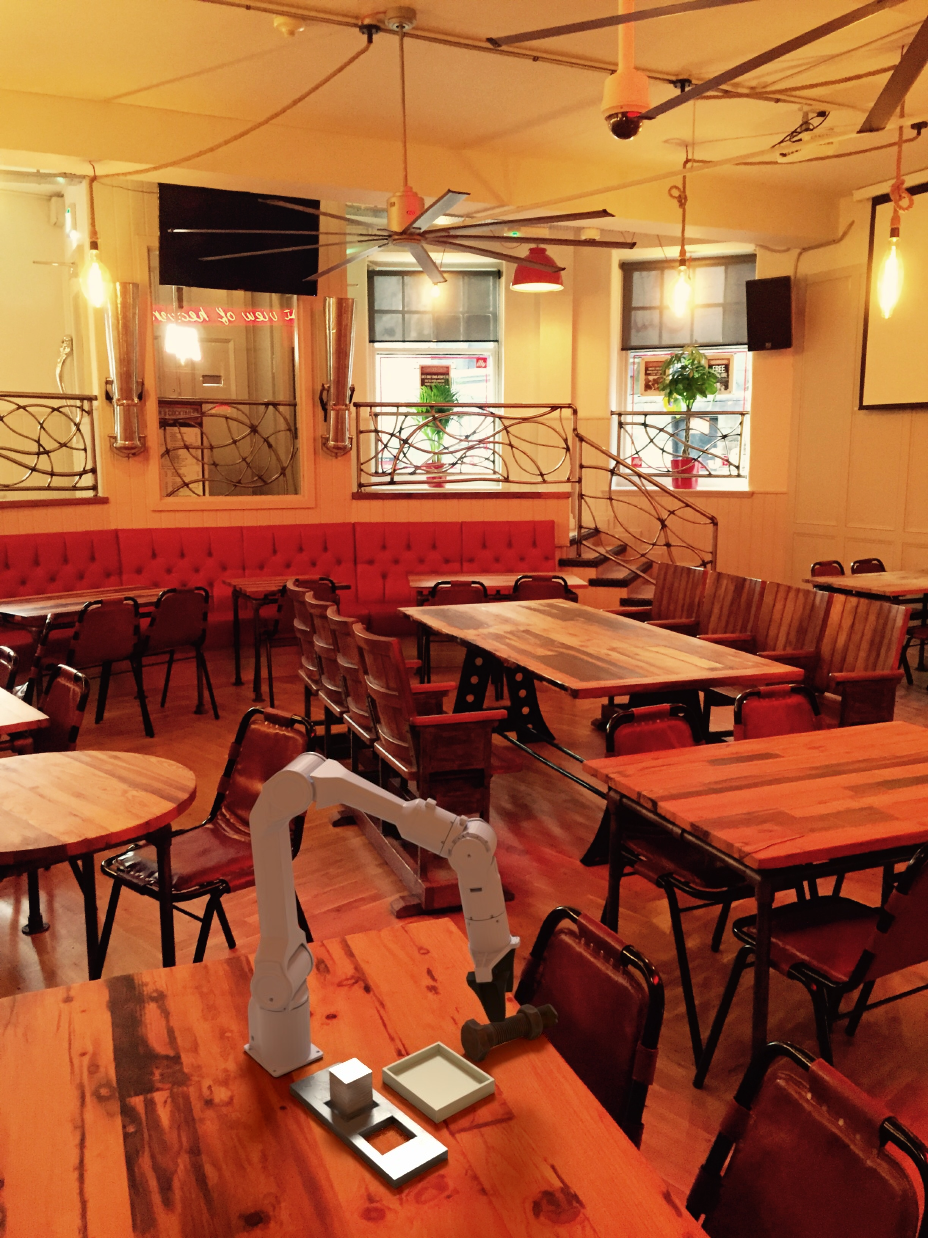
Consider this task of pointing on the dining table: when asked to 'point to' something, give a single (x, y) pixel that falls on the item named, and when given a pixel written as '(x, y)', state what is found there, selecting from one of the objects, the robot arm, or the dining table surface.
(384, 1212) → the dining table surface
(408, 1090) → the tray
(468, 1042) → the bolt
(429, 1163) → the metal plate with holes
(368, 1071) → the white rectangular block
